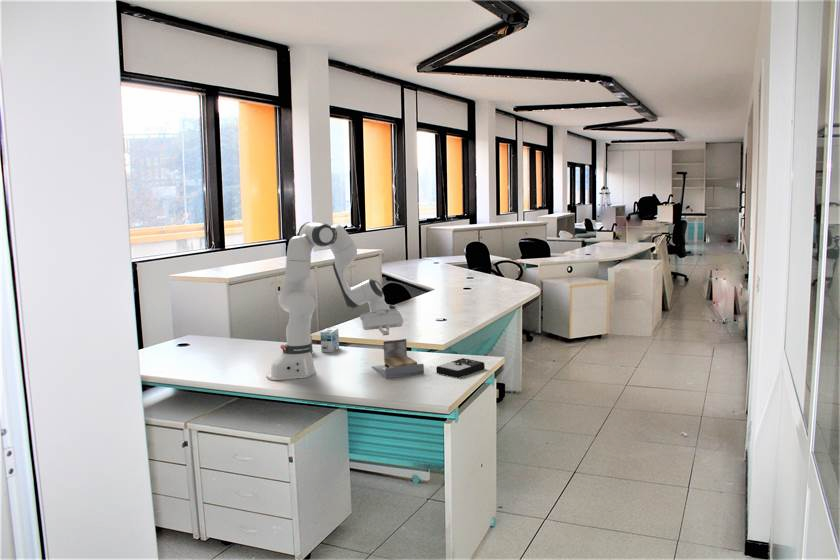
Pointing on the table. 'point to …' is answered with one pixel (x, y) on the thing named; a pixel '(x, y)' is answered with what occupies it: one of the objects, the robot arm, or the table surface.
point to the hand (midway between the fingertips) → (386, 334)
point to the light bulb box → (329, 340)
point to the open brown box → (396, 354)
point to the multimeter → (460, 367)
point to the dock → (399, 370)
